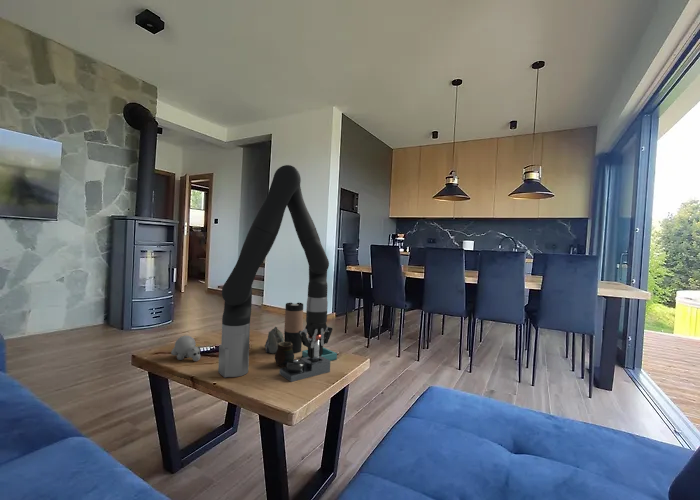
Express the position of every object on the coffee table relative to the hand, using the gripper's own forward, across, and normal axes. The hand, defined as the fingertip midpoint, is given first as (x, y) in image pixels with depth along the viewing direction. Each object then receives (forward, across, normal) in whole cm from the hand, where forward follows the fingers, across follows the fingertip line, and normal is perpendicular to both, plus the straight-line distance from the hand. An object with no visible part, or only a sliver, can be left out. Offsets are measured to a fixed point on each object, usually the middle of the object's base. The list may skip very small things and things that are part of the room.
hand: (315, 356), depth 122 cm
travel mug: (+5, +5, +24) cm, 25 cm away
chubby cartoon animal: (+5, -34, +36) cm, 50 cm away
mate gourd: (+5, -6, +11) cm, 14 cm away
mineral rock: (+6, 0, +30) cm, 30 cm away
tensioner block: (+5, -4, 0) cm, 7 cm away
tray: (+5, +9, +10) cm, 14 cm away
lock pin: (+5, 0, 0) cm, 5 cm away
